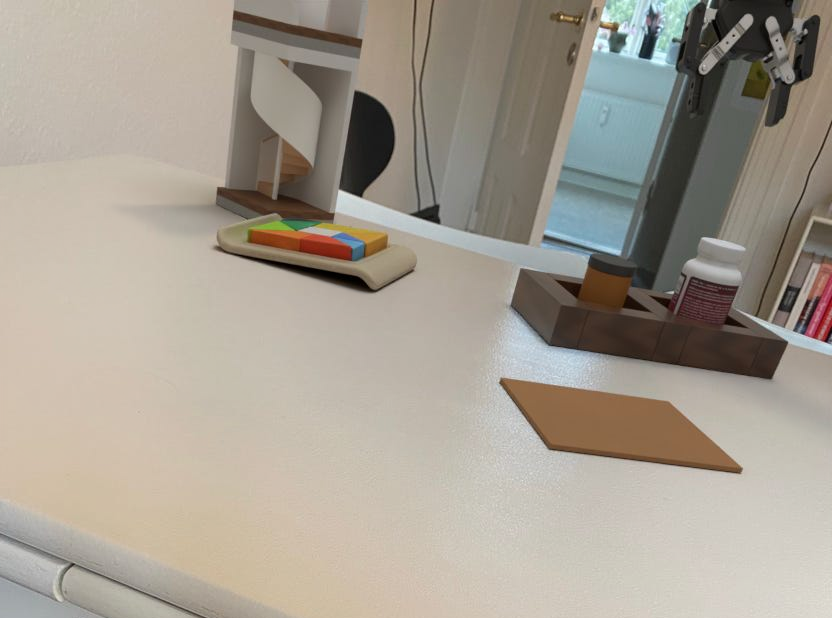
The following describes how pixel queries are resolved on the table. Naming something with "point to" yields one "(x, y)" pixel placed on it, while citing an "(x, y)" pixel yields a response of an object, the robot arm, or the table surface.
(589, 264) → the spice jar
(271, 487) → the table surface
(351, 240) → the wooden puzzle
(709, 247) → the pill bottle
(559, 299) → the bottle rack
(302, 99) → the spiral staircase model
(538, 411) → the cork mat
